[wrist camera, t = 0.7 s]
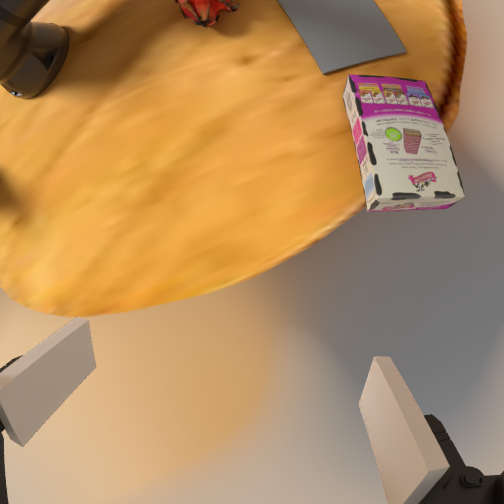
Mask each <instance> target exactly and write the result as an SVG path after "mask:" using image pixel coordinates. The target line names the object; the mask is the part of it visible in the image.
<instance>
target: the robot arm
mask: <svg viewBox="0 0 504 504" xmlns="http://www.w3.org/2000/svg"><path fill="white" fill-rule="evenodd" d="M49 1H50V0H0V85H1V86H3V87H4V88H5V89H6V90H7V91H8V92H9V93H10V94H12V95H13V96H15V97H18V98H22V99H29V98H32V97H34V96H36V95H38V94H39V93H41V92H42V91H43V90H44V89H45V88H46V87H47V86H48V85H49V84H50V83H51V82H52V80H53V79H54V78H55V76H56V75H57V73H58V72H59V70H60V68H61V66H62V64H63V62H64V60H65V57H66V54H67V51H68V45H69V37H68V34H67V32H66V30H65V29H63V28H62V27H60V26H58V25H56V24H53V23H41V22H31V21H30V20H31V19H32V18H33V17H34V16H35V15H36V14H37V13H38V12H39V11H40V10H41V9H42V8H43V7H44V6H45V5H46V4H47V3H48V2H49ZM95 368H96V363H95V358H94V352H93V346H92V340H91V333H90V326H89V320H87V319H83V318H79V317H76V318H74V319H73V320H71V321H70V322H69V323H67V324H66V325H64V326H63V327H62V328H60V329H59V330H57V331H56V332H55V333H53V334H52V335H50V336H49V337H48V338H47V339H45V340H44V341H42V342H41V343H39V344H38V345H37V346H35V347H34V348H33V349H31V350H30V351H28V352H27V353H26V354H25V355H22V356H19V357H17V358H14V359H12V360H11V361H10V362H8V363H7V364H6V366H3V367H2V368H0V504H8V497H7V488H6V478H5V464H4V438H3V435H2V433H1V432H2V431H3V430H4V429H5V430H6V432H7V434H8V435H9V437H10V439H11V440H13V441H14V442H16V443H17V444H19V445H20V446H22V447H23V446H24V445H25V444H26V443H27V442H28V441H29V440H30V439H31V438H32V436H33V435H34V434H35V433H36V432H37V431H38V430H39V429H40V427H41V426H42V425H43V424H44V423H45V422H46V421H47V420H48V419H49V418H50V416H51V415H52V414H53V413H54V412H55V411H56V410H57V409H58V408H59V407H60V405H61V404H62V403H63V402H64V401H65V400H66V399H67V398H68V397H69V396H70V395H71V394H72V392H73V391H74V390H75V389H76V388H77V387H78V386H79V385H80V384H81V383H82V382H83V381H84V380H85V379H86V378H87V376H88V375H89V374H90V373H91V372H92V371H93V370H94V369H95ZM359 407H360V410H361V413H362V416H363V419H364V423H365V426H366V429H367V432H368V436H369V439H370V442H371V445H372V449H373V452H374V455H375V459H376V462H377V466H378V469H379V473H380V476H381V480H382V483H383V487H384V491H385V494H386V498H387V502H388V504H504V471H503V472H502V474H501V475H493V476H492V475H490V476H484V475H483V473H482V472H481V471H480V470H478V469H476V468H474V467H469V466H466V465H465V464H464V462H463V460H462V458H461V456H460V455H459V453H458V451H457V449H456V447H455V446H454V444H453V442H452V440H450V437H449V436H448V433H446V430H445V428H444V426H443V425H442V423H441V422H440V421H439V420H438V419H437V418H436V417H434V416H433V415H432V414H431V415H423V414H422V412H421V410H420V408H419V407H418V405H417V403H416V402H415V400H414V398H413V396H412V394H411V392H410V391H409V389H408V387H407V386H406V384H405V382H404V381H403V379H402V377H401V375H400V373H399V372H398V370H397V369H396V367H395V365H394V363H393V362H392V360H391V358H390V357H374V358H373V362H372V365H371V368H370V372H369V375H368V378H367V381H366V384H365V387H364V390H363V393H362V396H361V399H360V401H359Z"/></svg>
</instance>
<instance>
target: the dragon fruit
mask: <svg viewBox="0 0 504 504" xmlns="http://www.w3.org/2000/svg"><path fill="white" fill-rule="evenodd" d="M175 2H176V4H177V5H178V6H179V8H180V10H181V13H183V14H182V15H183V16H184V18H186V17H187V18H189V19H190V20H192V21H193V22H194V23H195V24H196V25H202V26H203V27H206V28H207V26H211V25H213V24H214V23H216V22H218V18H219V15H218V17H217V13H218V12H219V11H220V9H224V10H226V11H227V12H228V13H229V12H234V11H236V10H237V9H238V8H239V4H237V5H235V6H230V5H231V4H232V2H231V0H175ZM187 18H186V19H187ZM204 21H205V23H206V25H205V24H204Z"/></svg>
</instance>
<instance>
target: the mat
mask: <svg viewBox="0 0 504 504" xmlns="http://www.w3.org/2000/svg"><path fill="white" fill-rule="evenodd" d="M277 1H278V2H279V4H280V5H281V7H282V8H283V10H284V11H285V13H286V14H287V16H288V17H289V19H290V20H291V22H292V23H293V25H294V26H295V28H296V29H297V31H298V33H299V34H300V36H301V37H302V39H303V41H304V42H305V44H306V46H307V47H308V49H309V51H310V52H311V54H312V56H313V57H314V59H315V61H316V63H317V64H318V66H319V68H320V70H321V72H322V73H323V74H326V73H330V72H333V71H336V70H340V69H343V68H346V67H350V66H354V65H357V64H361V63H365V62H369V61H373V60H377V59H381V58H385V57H390V56H394V55H399V54H404V53H406V52H407V51H406V49H405V47H404V46H403V44H402V42H401V41H400V39H399V38H398V36H397V34H396V33H395V31H394V30H393V28H392V27H391V25H390V23H389V22H388V21H387V19H386V18H385V16H384V15H383V13H382V12H381V10H380V9H379V8H378V6H377V5H376V3H375V2H374V1H373V0H277Z"/></svg>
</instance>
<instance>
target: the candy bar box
mask: <svg viewBox="0 0 504 504" xmlns="http://www.w3.org/2000/svg"><path fill="white" fill-rule="evenodd" d="M343 100H344V104H345V108H346V111H347V115H348V119H349V123H350V127H351V131H352V135H353V140H354V144H355V149H356V153H357V158H358V163H359V168H360V173H361V178H362V183H363V189H364V194H365V201H366V206H367V212H372V211H400V210H423V209H447V208H449V207H450V206H452V205H453V204H455V203H456V202H458V201H459V200H461V199H462V198H463V197H465V194H464V190H463V187H462V183H461V179H460V175H459V171H458V168H457V165H456V161H455V159H454V155H453V152H452V149H451V145H450V143H449V139H448V137H447V134H446V131H445V128H444V125H443V123H442V120H441V118H440V115H439V112H438V110H437V107H436V105H435V102H434V100H433V98H432V95H431V93H430V91H429V88H428V86H427V84H426V82H425V81H421V80H414V79H406V78H396V77H385V76H370V75H348V76H347V80H346V85H345V89H344V92H343Z"/></svg>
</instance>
